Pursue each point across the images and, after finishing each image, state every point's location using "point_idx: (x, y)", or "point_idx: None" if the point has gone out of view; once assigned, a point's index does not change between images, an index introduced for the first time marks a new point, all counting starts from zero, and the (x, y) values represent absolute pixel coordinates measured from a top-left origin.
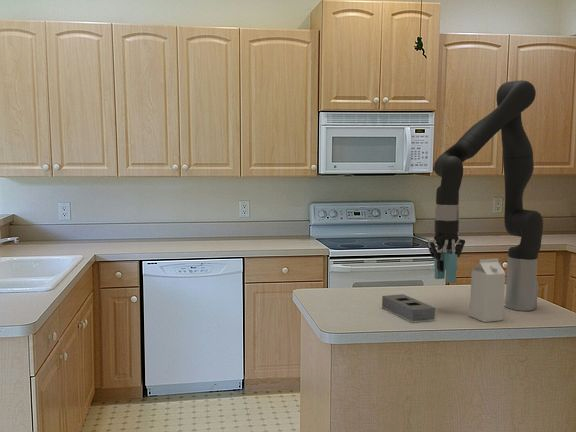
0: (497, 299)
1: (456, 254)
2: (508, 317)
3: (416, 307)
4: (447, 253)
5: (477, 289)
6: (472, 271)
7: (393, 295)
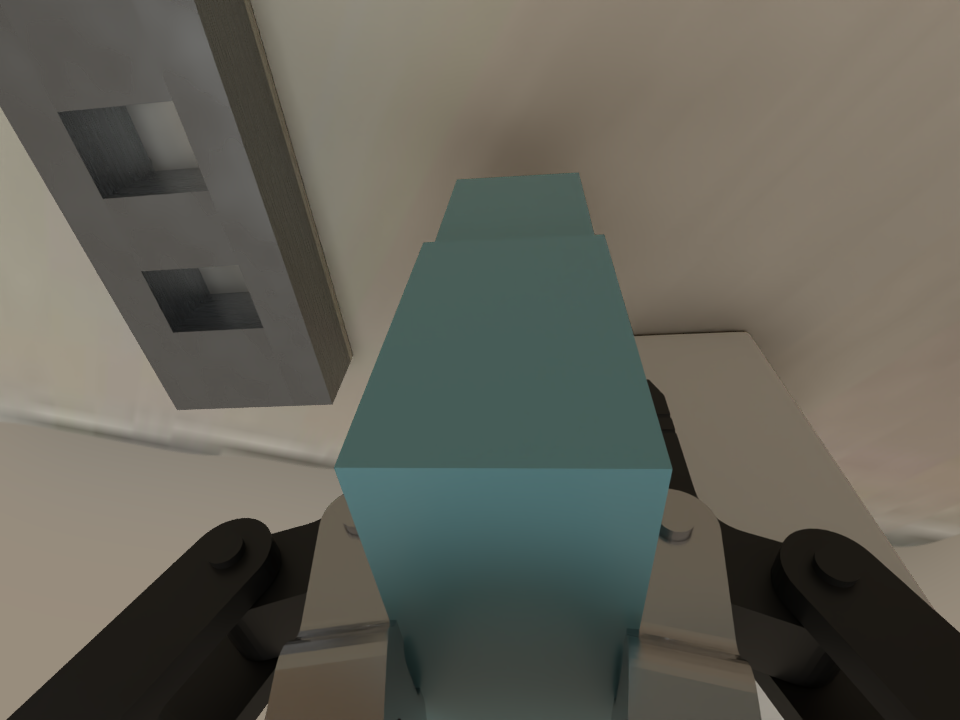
0: None
1: (758, 665)
2: (812, 397)
3: (211, 372)
4: (516, 697)
5: None
6: None
7: None
